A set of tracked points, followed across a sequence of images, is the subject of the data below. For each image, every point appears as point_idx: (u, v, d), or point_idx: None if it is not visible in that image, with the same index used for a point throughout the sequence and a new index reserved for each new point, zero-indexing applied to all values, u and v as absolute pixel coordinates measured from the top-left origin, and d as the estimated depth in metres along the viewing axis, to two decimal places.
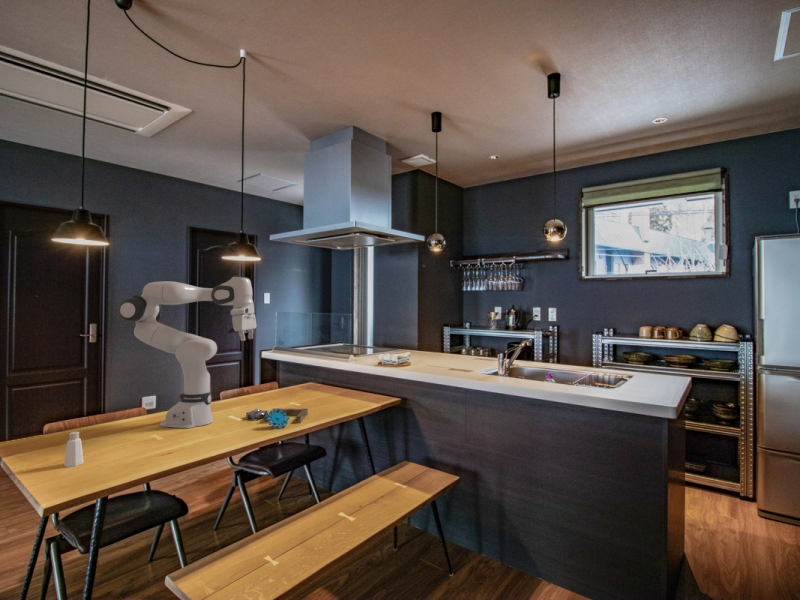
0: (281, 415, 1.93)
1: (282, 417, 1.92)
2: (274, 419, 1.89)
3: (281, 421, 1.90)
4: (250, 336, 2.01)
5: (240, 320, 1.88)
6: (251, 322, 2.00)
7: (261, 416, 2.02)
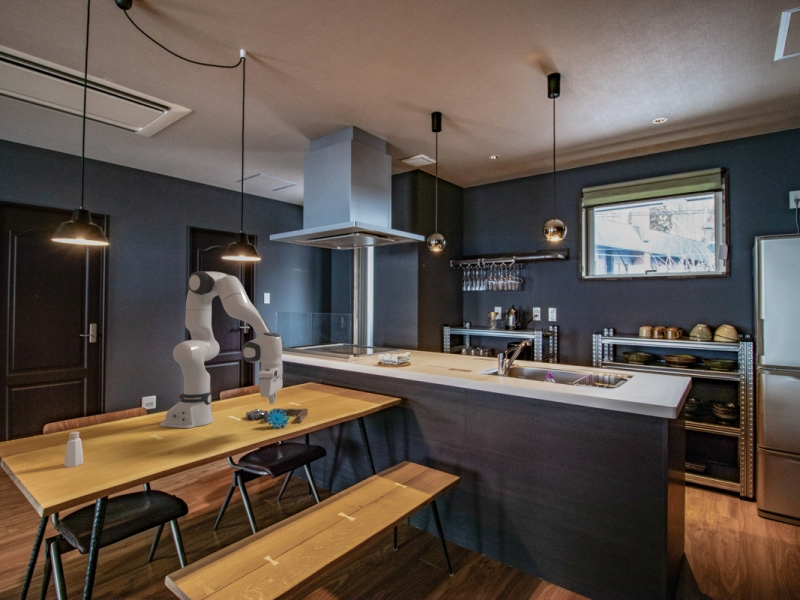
0: (281, 415, 1.93)
1: (282, 417, 1.92)
2: (274, 419, 1.89)
3: (281, 421, 1.90)
4: None
5: (268, 385, 1.70)
6: (278, 383, 1.83)
7: (261, 416, 2.02)
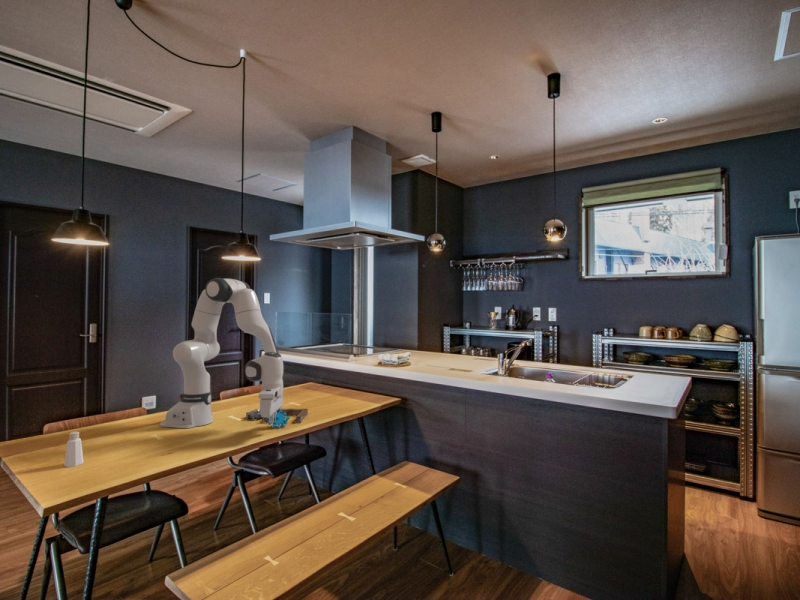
0: (281, 415, 1.93)
1: (282, 417, 1.92)
2: None
3: (281, 421, 1.91)
4: None
5: (268, 406, 1.72)
6: (278, 402, 1.85)
7: None
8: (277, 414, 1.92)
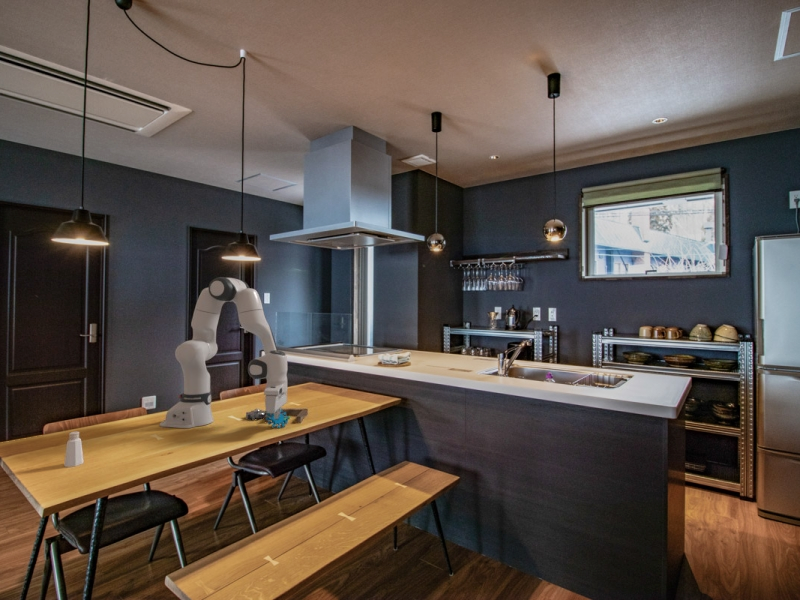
0: (281, 415, 1.93)
1: (282, 417, 1.92)
2: (273, 419, 1.90)
3: (280, 421, 1.91)
4: None
5: (273, 402, 1.79)
6: (282, 399, 1.92)
7: (261, 416, 2.02)
8: None
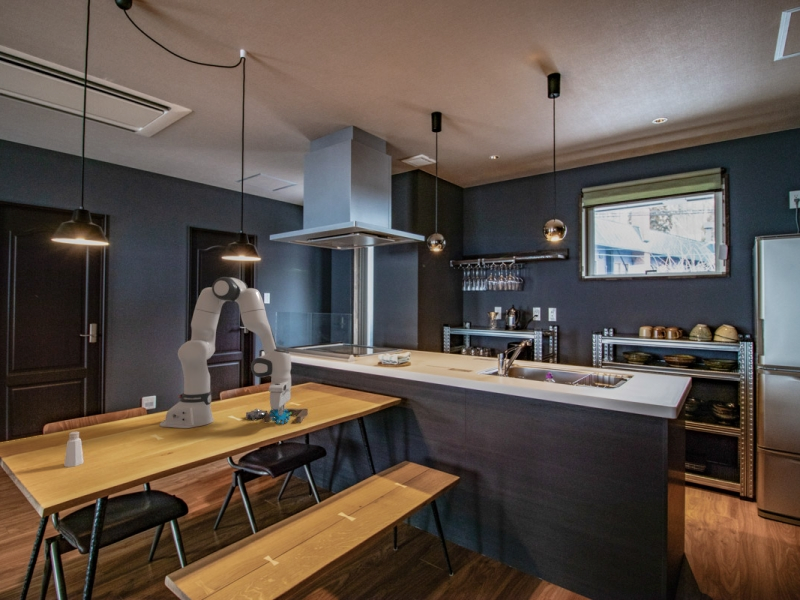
0: None
1: (284, 413, 1.98)
2: (277, 415, 1.95)
3: (283, 417, 1.97)
4: None
5: (278, 398, 1.85)
6: (286, 395, 1.98)
7: (261, 416, 2.02)
8: None
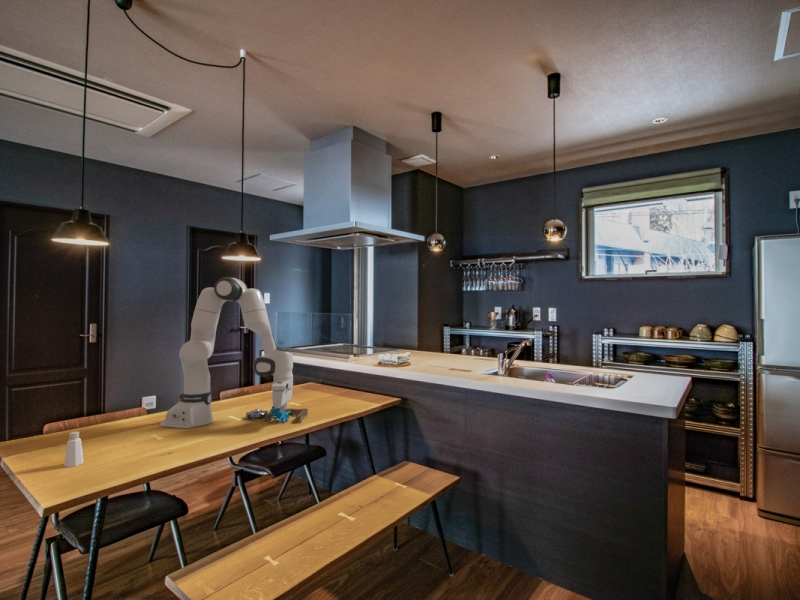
0: None
1: None
2: (277, 414, 1.98)
3: (284, 415, 1.99)
4: None
5: (280, 397, 1.88)
6: (288, 394, 2.01)
7: (261, 416, 2.02)
8: (279, 409, 2.00)
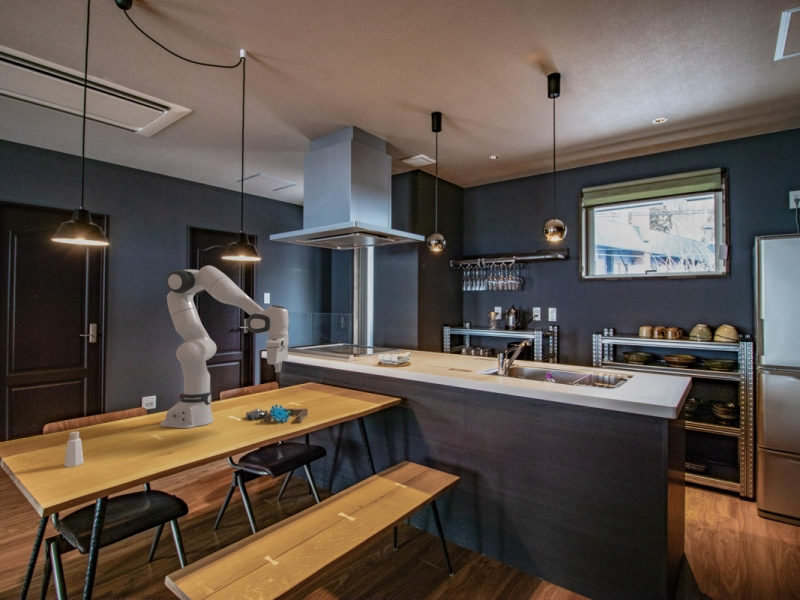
0: (282, 410, 2.02)
1: (283, 412, 2.01)
2: (277, 414, 1.98)
3: (283, 416, 1.99)
4: None
5: (275, 353, 1.81)
6: (284, 353, 1.94)
7: (261, 416, 2.02)
8: (279, 409, 2.00)
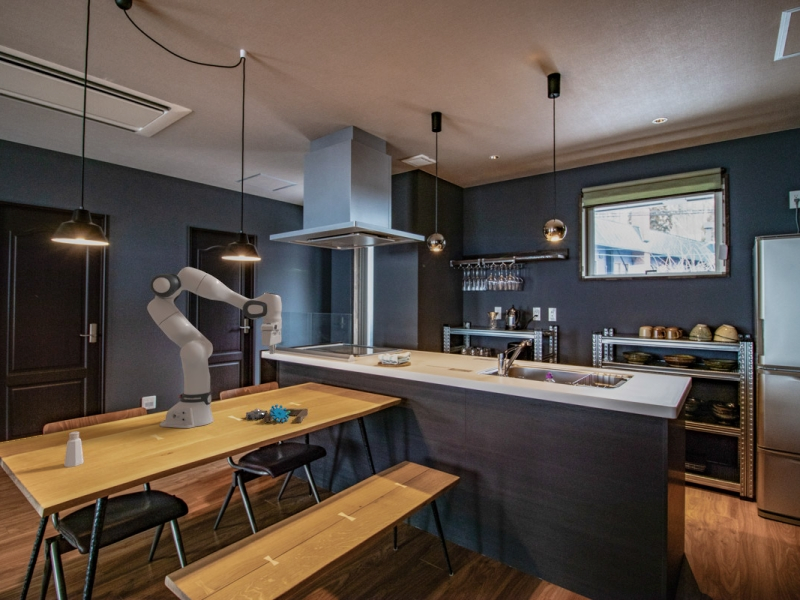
0: (282, 410, 2.02)
1: (283, 412, 2.01)
2: (277, 414, 1.98)
3: (283, 415, 2.00)
4: None
5: (269, 336, 1.98)
6: (277, 337, 2.10)
7: (261, 416, 2.02)
8: (279, 409, 2.01)
